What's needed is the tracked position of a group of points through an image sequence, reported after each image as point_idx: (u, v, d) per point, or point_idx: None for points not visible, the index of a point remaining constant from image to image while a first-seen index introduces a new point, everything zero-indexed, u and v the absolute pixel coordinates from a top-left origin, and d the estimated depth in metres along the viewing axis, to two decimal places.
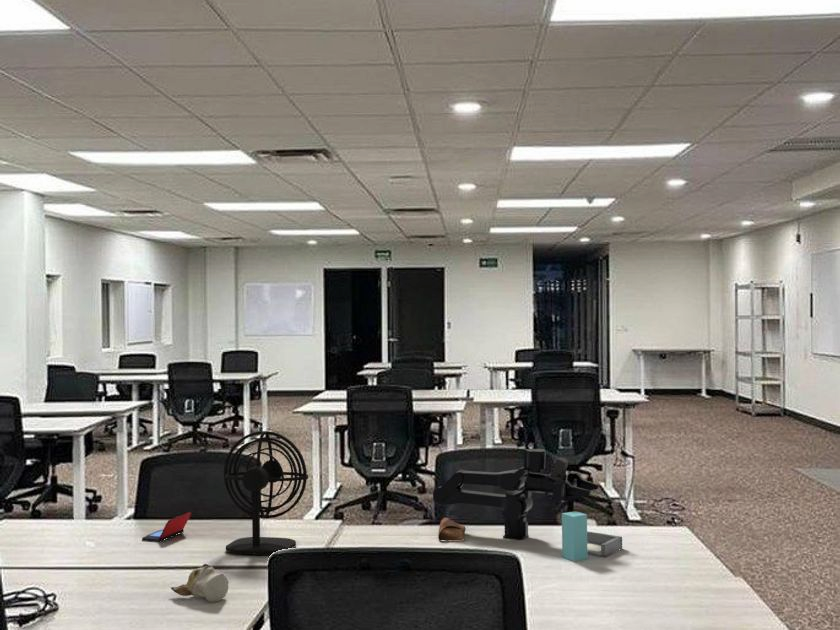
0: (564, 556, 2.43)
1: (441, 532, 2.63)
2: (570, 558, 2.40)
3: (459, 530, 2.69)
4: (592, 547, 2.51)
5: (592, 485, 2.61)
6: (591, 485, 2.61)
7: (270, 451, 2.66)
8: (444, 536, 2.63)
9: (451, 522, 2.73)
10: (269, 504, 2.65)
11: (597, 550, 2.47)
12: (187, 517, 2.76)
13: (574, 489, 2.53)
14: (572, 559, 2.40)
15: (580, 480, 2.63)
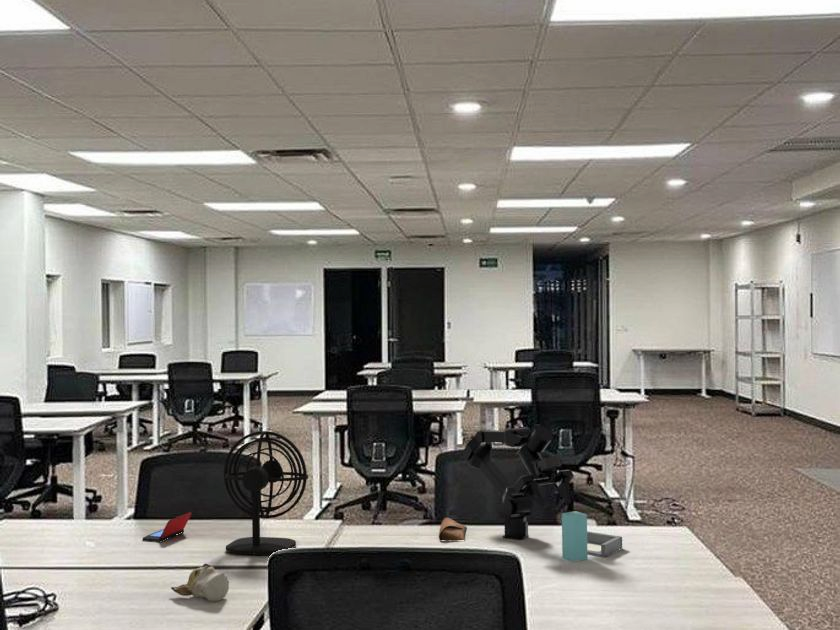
0: (564, 556, 2.43)
1: (442, 532, 2.63)
2: (570, 558, 2.40)
3: (460, 530, 2.69)
4: (592, 547, 2.51)
5: (566, 497, 2.52)
6: (566, 496, 2.53)
7: (270, 451, 2.66)
8: (444, 536, 2.63)
9: (452, 522, 2.73)
10: (269, 504, 2.65)
11: (597, 550, 2.47)
12: (187, 517, 2.76)
13: (535, 493, 2.49)
14: (572, 559, 2.40)
15: (563, 484, 2.55)
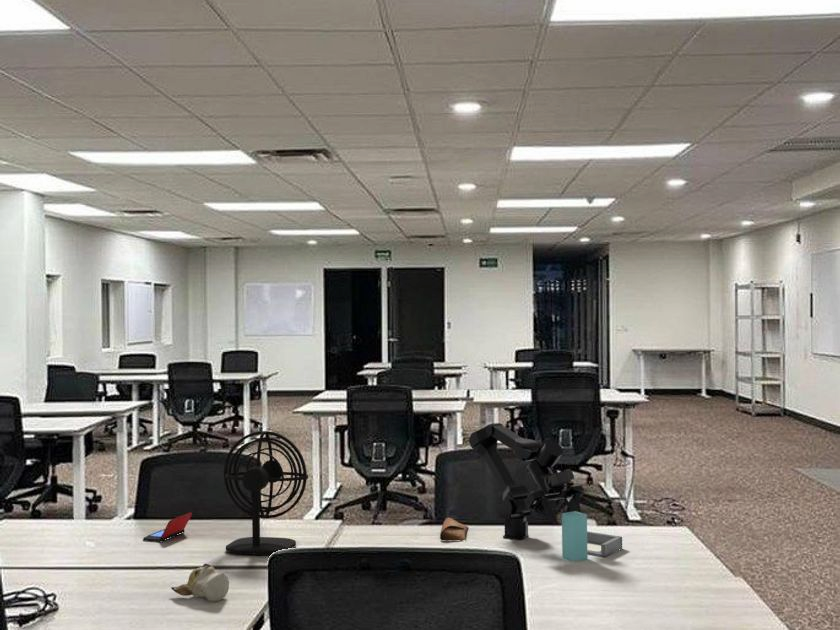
0: (564, 556, 2.43)
1: (443, 532, 2.63)
2: (570, 558, 2.40)
3: (461, 530, 2.69)
4: (592, 547, 2.51)
5: None
6: None
7: (270, 451, 2.66)
8: (445, 536, 2.63)
9: (454, 522, 2.73)
10: (269, 504, 2.65)
11: (597, 550, 2.47)
12: (188, 517, 2.76)
13: (545, 509, 2.44)
14: (572, 559, 2.40)
15: (574, 500, 2.50)
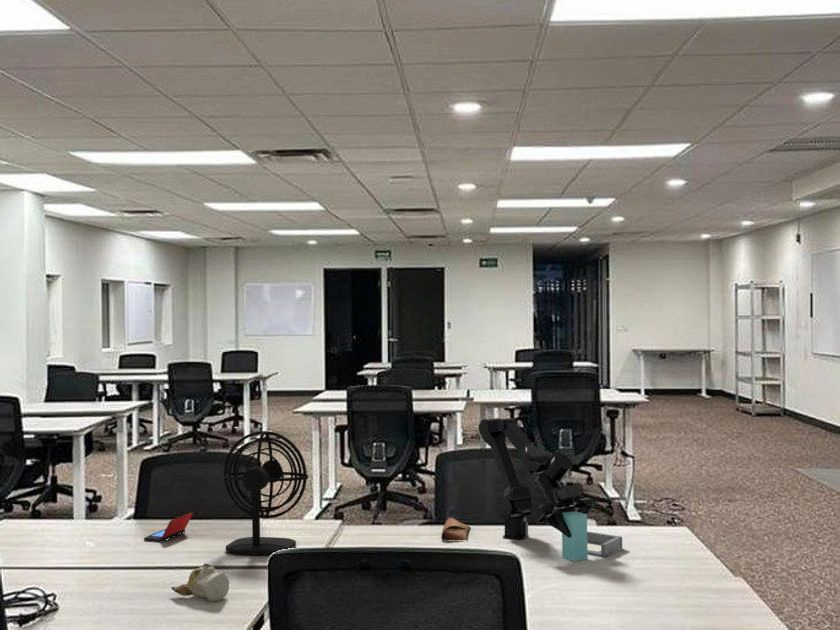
0: (564, 556, 2.43)
1: (444, 532, 2.63)
2: (570, 558, 2.40)
3: (463, 530, 2.68)
4: (592, 547, 2.51)
5: None
6: None
7: (270, 451, 2.66)
8: (447, 536, 2.63)
9: (455, 522, 2.73)
10: (269, 504, 2.65)
11: (597, 550, 2.47)
12: (189, 517, 2.76)
13: (560, 522, 2.42)
14: (572, 559, 2.40)
15: None
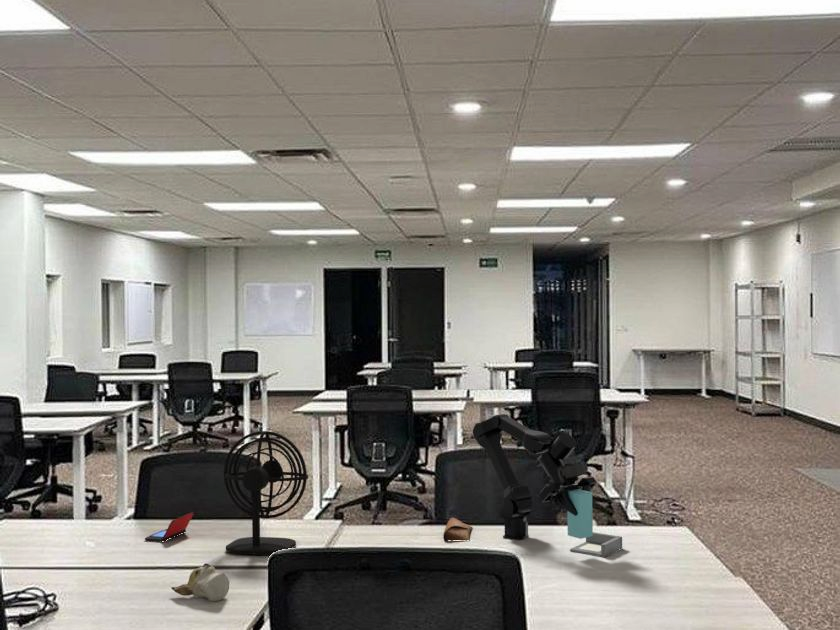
0: (569, 534, 2.44)
1: (446, 532, 2.63)
2: (576, 536, 2.42)
3: (465, 530, 2.68)
4: (592, 547, 2.51)
5: None
6: None
7: (270, 451, 2.66)
8: (449, 536, 2.63)
9: (457, 522, 2.73)
10: (269, 504, 2.65)
11: (597, 550, 2.47)
12: (190, 517, 2.76)
13: (566, 501, 2.43)
14: (578, 537, 2.41)
15: None
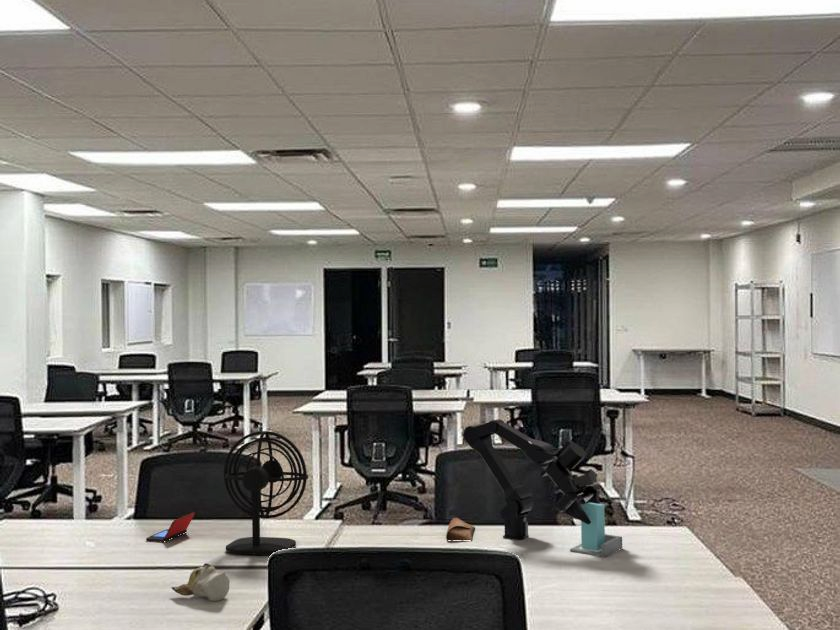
0: (584, 547, 2.50)
1: (449, 532, 2.63)
2: (592, 548, 2.48)
3: (468, 530, 2.68)
4: None
5: None
6: None
7: (270, 451, 2.66)
8: (451, 537, 2.63)
9: (460, 522, 2.73)
10: (269, 504, 2.65)
11: None
12: (191, 517, 2.76)
13: (579, 510, 2.47)
14: (595, 549, 2.47)
15: (595, 499, 2.56)
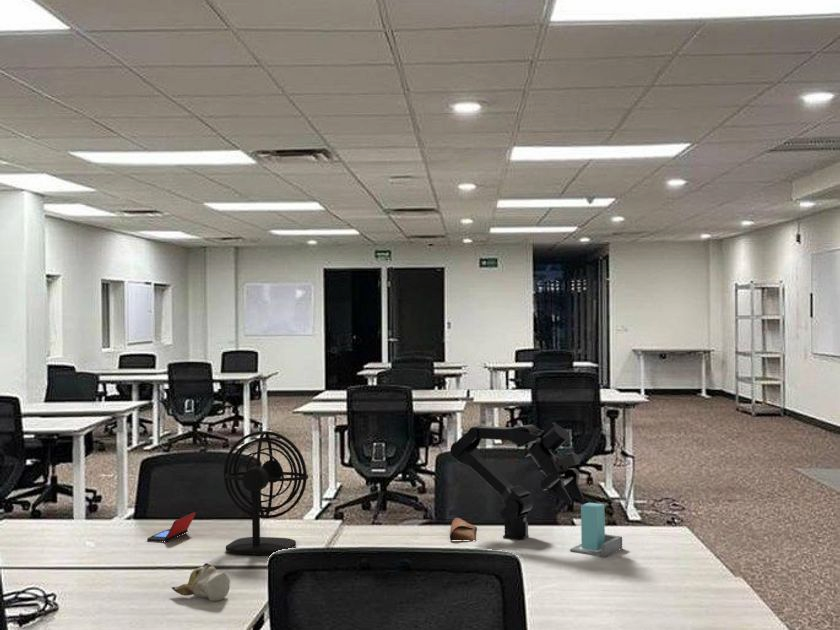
0: (584, 547, 2.50)
1: (453, 532, 2.63)
2: (592, 548, 2.48)
3: (471, 530, 2.68)
4: None
5: (579, 495, 2.59)
6: (579, 494, 2.59)
7: (270, 451, 2.66)
8: (455, 537, 2.63)
9: (463, 522, 2.73)
10: (269, 504, 2.65)
11: None
12: (192, 517, 2.76)
13: (562, 490, 2.51)
14: (595, 549, 2.47)
15: (574, 482, 2.60)
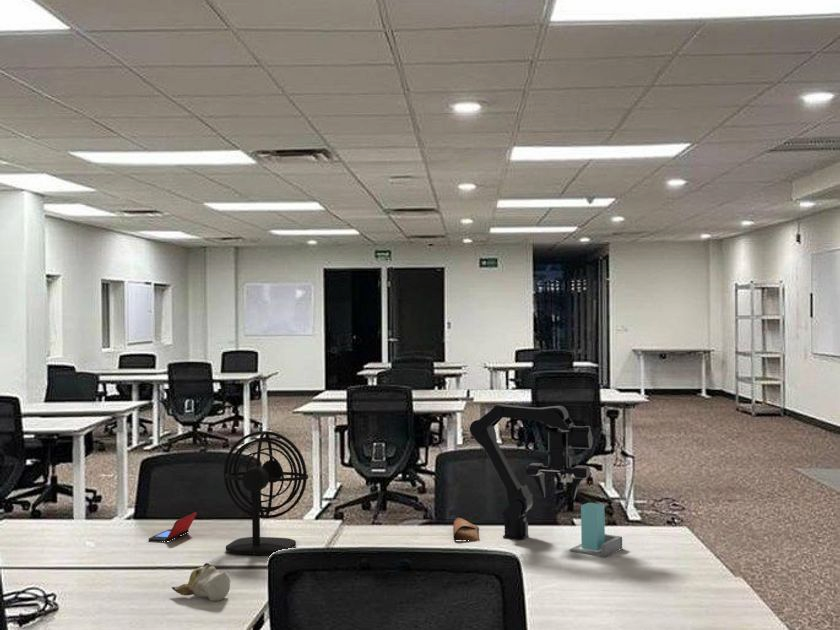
0: (584, 547, 2.50)
1: (456, 532, 2.63)
2: (592, 548, 2.48)
3: (474, 530, 2.68)
4: None
5: (544, 491, 2.64)
6: (544, 490, 2.64)
7: (270, 451, 2.66)
8: (459, 537, 2.63)
9: (465, 522, 2.73)
10: (269, 504, 2.65)
11: None
12: (193, 517, 2.76)
13: (578, 484, 2.60)
14: (595, 549, 2.47)
15: (543, 478, 2.65)
